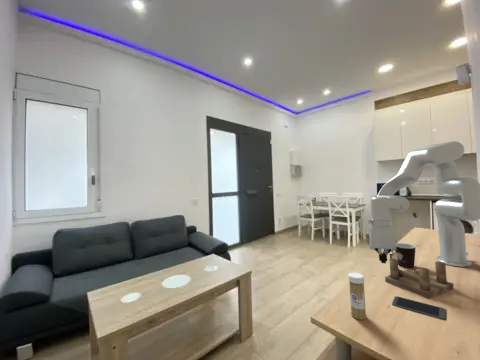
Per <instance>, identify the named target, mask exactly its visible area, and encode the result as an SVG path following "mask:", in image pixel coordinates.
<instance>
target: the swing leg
mask: <svg viewBox="0 0 480 360" xmlns="http://www.w3.org/2000/svg"><path fill="white" fill-rule="evenodd" d="M388 255H389V259H396V260H398V258H397V253H396V252H395V251H393V252H392V251H391V252H389V253H388ZM402 271H403V270H401V269H399V276H404V274H403V272H402Z"/></svg>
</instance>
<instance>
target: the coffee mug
mask: <svg viewBox="0 0 480 360" xmlns="http://www.w3.org/2000/svg"><path fill="white" fill-rule="evenodd" d="M416 249H417V248H416V246H415V245H413V244H409V243H402V242H401V243H397V242H396V251H391V252H396V253H397V258H398V265H399V266H398V267H399V268H400V267H401V268H403V269H414V268H415V262H416V261H415V259H416Z"/></svg>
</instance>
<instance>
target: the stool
mask: <svg viewBox="0 0 480 360" xmlns="http://www.w3.org/2000/svg"><path fill="white" fill-rule="evenodd" d="M434 263H435V266H434V267H435V276H436V277H435V276H431V275H430V269H429V268H427V267H418V268H417V269H415V270H413V269H410V268H406V269H405V270H402V272H403V274H404V276H399V270H400V266H398V260H396V259H390V258H389V271H390V272H389V273H390V274H389V275H388V276H384V281H385V283H388V284H390V285H393V286H395V287H398V288H400V289H403V290H406V291H409V292H410V293H413V294H416V295H419V296H420V297H424V298H426V299H429V300H431V299H433V298H437V296H440V295H442V294H444V293H446V292H449V291H451V290H453V289H454V282H450V281H448V280H447V278H448V277H447V269H446V265H447V264H445V263H443V262H439V261H435V262H434Z"/></svg>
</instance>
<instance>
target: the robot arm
mask: <svg viewBox="0 0 480 360" xmlns="http://www.w3.org/2000/svg"><path fill="white" fill-rule="evenodd" d="M464 153H465V147H464V145H463V144H462V143H461V142H459V141H455V140H454V141H446V142H441V143H435V144H430V145H426V146H424V147H422V148H417V149H414V150H411V151H409V152H408V153H407V155H406V157H405V159H404V161H403V163H402V164H401V167H400V169H399V170H398V172H397V174H396V175H395V176H394V177H391V179H389V180H388V181H387V182H386V183H385V184H384V185H382V187H381V188H380V190H379V192H378V193H377V195H376V196H373V197H371V198H370V217H371V219H370V220H369V219H368V221H367V224H371V225H370V226H369V231H368V232H369V233H368V234H369V235H368V236H369V237H368V242H369V246H368V248H369V249H370V250H373V251H376V253H378V261H379V262H380V263H381V264H386V263H387V262H388V255H389V252H392V251H393V252H395V251H396V244H397V239H396V234H395V228H394V227H393V226H392V224H391V222H392V221H391V220H392V219H391V213H392V212H395V213H401V212H406V210H408V209H410V201H409V200H408V199H407V197H405V196H402V195H395V194H396V193H397V192H399V191H400V190H402V189H404V188H407V187H409V186H412V185H414V184H416V183H417V182H418V181H419V179H420V177H421V175H422V173H423V171H424V169H425V167H428V166H429V167H432V168H433V172H434V178H435V188H436V189H435V190H436V192H437V194H438V195H439V196H443V197H449V198H443V199H438V200H437V201H436V202H435V203H434V205H433V210H434V213H435V217H436V220H437V226H438V227H437V229H438V241H439V242H438V244H439V255H438V256H436V262H443V263H445V265H448V266H452V267H461V268H462V267H463V268H465V267H471V266H472V264H473V262H472V261H471V260H468V258H467V256H469V253H468V251H467V246H466V244H467V243H466V233H465V226H464V224H463V223H462V221H469V222H475V221H479V220H480V182H479V181H478V180H477V179H476V178H474V177H472V176H471V177H469V176H459V171H458V166H457V164H456V163H455V160H458V159H460V158H461V157H462V156H463V155H464ZM451 197H453V198H451ZM455 197H456V198H455ZM457 198H461V199H457ZM461 220H462V221H461ZM382 250H383V251H382Z"/></svg>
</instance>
